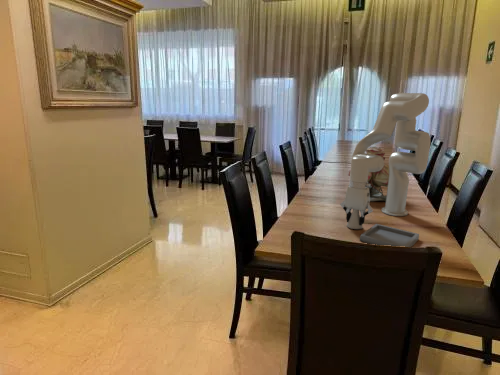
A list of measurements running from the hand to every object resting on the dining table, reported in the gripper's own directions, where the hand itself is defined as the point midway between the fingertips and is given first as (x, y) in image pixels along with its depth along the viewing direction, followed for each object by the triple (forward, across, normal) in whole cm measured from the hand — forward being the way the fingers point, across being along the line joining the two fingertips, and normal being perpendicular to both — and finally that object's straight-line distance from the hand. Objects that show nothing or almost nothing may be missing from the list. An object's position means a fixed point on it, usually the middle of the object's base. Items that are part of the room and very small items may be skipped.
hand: (354, 222), depth 153 cm
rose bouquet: (+4, +14, -56) cm, 58 cm away
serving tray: (+2, -17, +4) cm, 18 cm away
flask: (+2, 0, 0) cm, 2 cm away
